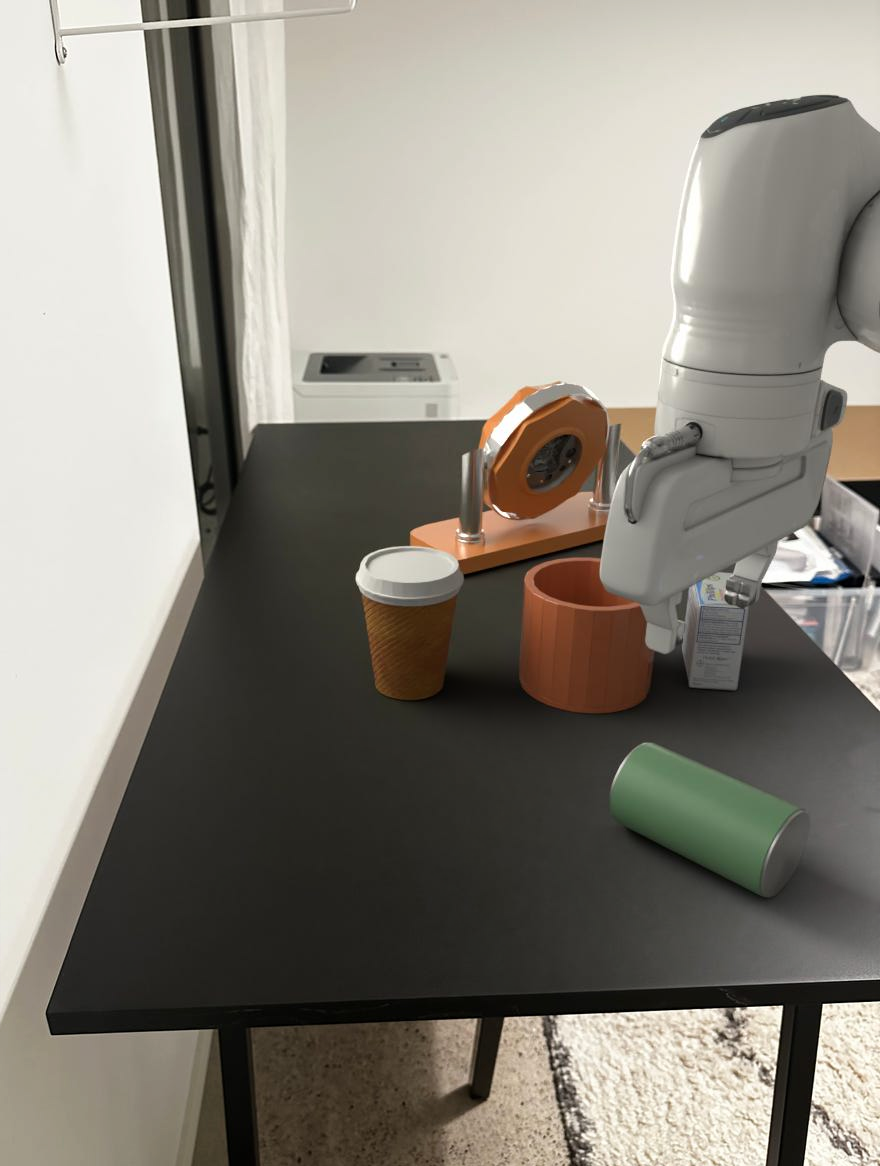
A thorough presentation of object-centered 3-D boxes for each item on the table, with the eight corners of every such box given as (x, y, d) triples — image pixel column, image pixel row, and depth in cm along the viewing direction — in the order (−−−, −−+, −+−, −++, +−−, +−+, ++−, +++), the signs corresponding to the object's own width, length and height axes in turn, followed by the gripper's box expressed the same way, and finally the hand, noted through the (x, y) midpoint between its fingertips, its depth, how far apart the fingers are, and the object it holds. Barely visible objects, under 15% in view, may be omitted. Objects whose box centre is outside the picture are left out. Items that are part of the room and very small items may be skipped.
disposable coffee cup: (337, 681, 97) (333, 561, 92) (414, 651, 102) (415, 536, 97) (402, 721, 90) (403, 594, 85) (482, 687, 96) (487, 566, 91)
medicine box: (737, 692, 95) (751, 606, 91) (686, 689, 96) (699, 602, 92) (726, 654, 102) (739, 572, 98) (679, 650, 103) (690, 569, 99)
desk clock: (652, 532, 133) (670, 372, 124) (459, 581, 118) (465, 404, 109) (587, 505, 142) (600, 355, 133) (401, 548, 127) (402, 383, 119)
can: (801, 871, 72) (817, 794, 69) (755, 915, 68) (770, 836, 65) (653, 799, 80) (662, 728, 77) (604, 836, 76) (611, 762, 73)
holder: (675, 681, 97) (688, 582, 92) (598, 728, 89) (609, 622, 85) (571, 641, 104) (578, 547, 100) (492, 680, 97) (497, 581, 93)
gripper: (686, 456, 52) (656, 697, 58) (861, 391, 65) (821, 594, 71) (583, 433, 56) (565, 661, 62) (767, 376, 69) (737, 569, 75)
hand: (703, 624), depth 67 cm, fingers open, 8 cm apart
